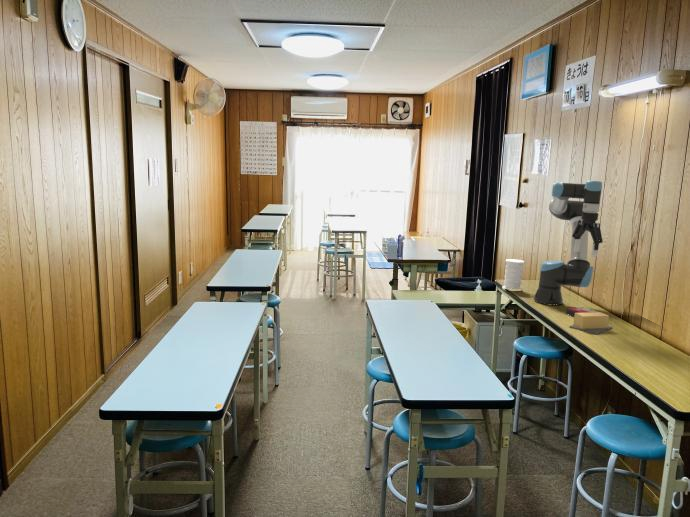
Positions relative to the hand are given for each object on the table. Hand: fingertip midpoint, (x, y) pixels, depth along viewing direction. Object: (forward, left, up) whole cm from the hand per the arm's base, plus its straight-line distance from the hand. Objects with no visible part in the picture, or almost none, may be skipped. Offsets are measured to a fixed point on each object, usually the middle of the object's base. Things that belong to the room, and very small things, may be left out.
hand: (584, 254), depth 272 cm
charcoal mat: (+18, +15, -32) cm, 39 cm away
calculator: (+1, +5, -32) cm, 33 cm away
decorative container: (-22, -50, -32) cm, 63 cm away
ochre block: (+24, +11, -28) cm, 39 cm away
